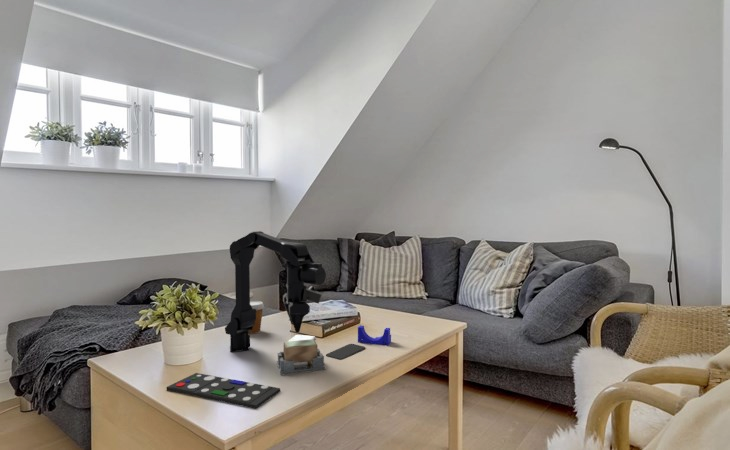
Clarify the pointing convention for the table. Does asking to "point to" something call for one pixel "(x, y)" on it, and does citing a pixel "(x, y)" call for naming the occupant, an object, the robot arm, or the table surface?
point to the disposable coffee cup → (257, 316)
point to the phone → (345, 351)
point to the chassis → (300, 364)
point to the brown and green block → (300, 350)
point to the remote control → (225, 390)
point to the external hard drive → (301, 338)
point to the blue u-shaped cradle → (382, 340)
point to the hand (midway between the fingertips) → (295, 328)
